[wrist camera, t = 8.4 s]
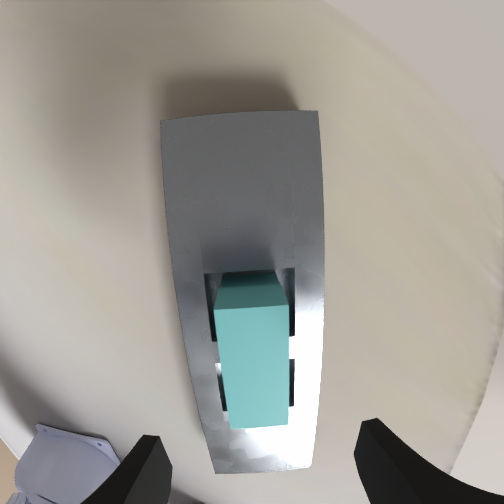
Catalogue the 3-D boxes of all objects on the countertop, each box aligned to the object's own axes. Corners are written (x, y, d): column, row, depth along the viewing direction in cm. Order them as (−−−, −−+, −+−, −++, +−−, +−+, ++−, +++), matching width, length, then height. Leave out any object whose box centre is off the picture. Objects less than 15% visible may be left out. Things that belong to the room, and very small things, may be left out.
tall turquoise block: (278, 371, 18) (288, 424, 13) (232, 374, 18) (230, 428, 13) (275, 269, 17) (288, 304, 12) (221, 272, 17) (213, 309, 12)
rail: (217, 447, 21) (215, 473, 18) (174, 130, 15) (160, 120, 13) (304, 441, 21) (310, 466, 18) (305, 122, 16) (317, 110, 13)
